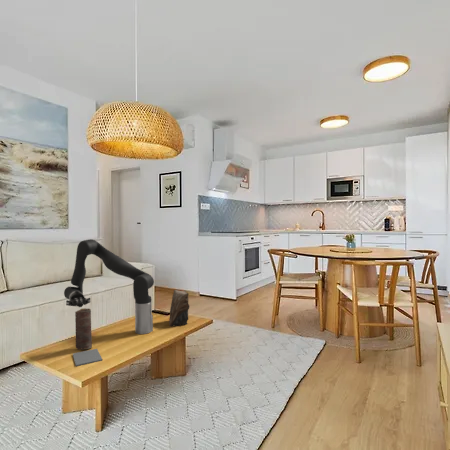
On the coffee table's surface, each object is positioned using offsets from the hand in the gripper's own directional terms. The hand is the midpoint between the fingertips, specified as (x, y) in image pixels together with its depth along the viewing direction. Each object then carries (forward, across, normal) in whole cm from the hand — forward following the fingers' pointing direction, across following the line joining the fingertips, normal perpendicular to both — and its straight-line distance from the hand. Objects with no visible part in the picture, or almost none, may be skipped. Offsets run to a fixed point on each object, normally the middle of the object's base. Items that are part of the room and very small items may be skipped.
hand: (80, 305), depth 164 cm
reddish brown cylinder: (+11, 0, +20) cm, 23 cm away
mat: (+23, 0, +19) cm, 30 cm away
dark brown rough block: (0, +55, +20) cm, 58 cm away
